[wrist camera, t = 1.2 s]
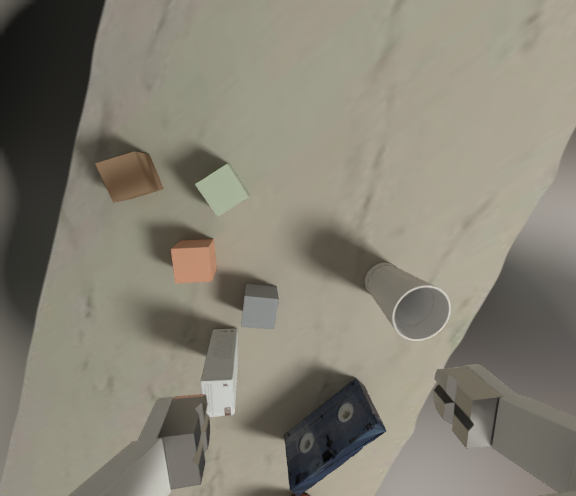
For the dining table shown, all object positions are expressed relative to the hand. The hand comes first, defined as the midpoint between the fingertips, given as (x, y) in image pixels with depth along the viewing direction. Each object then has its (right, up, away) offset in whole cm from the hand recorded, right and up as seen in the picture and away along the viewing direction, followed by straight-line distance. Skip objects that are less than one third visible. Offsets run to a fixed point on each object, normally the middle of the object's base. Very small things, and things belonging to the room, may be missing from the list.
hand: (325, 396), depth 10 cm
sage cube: (-10, +14, +32) cm, 36 cm away
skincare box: (-12, -11, +39) cm, 42 cm away
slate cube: (-6, -3, +37) cm, 38 cm away
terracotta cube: (-15, +4, +34) cm, 38 cm away
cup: (+15, 0, +38) cm, 41 cm away
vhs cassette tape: (+5, -26, +44) cm, 52 cm away
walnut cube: (-22, +15, +30) cm, 41 cm away
